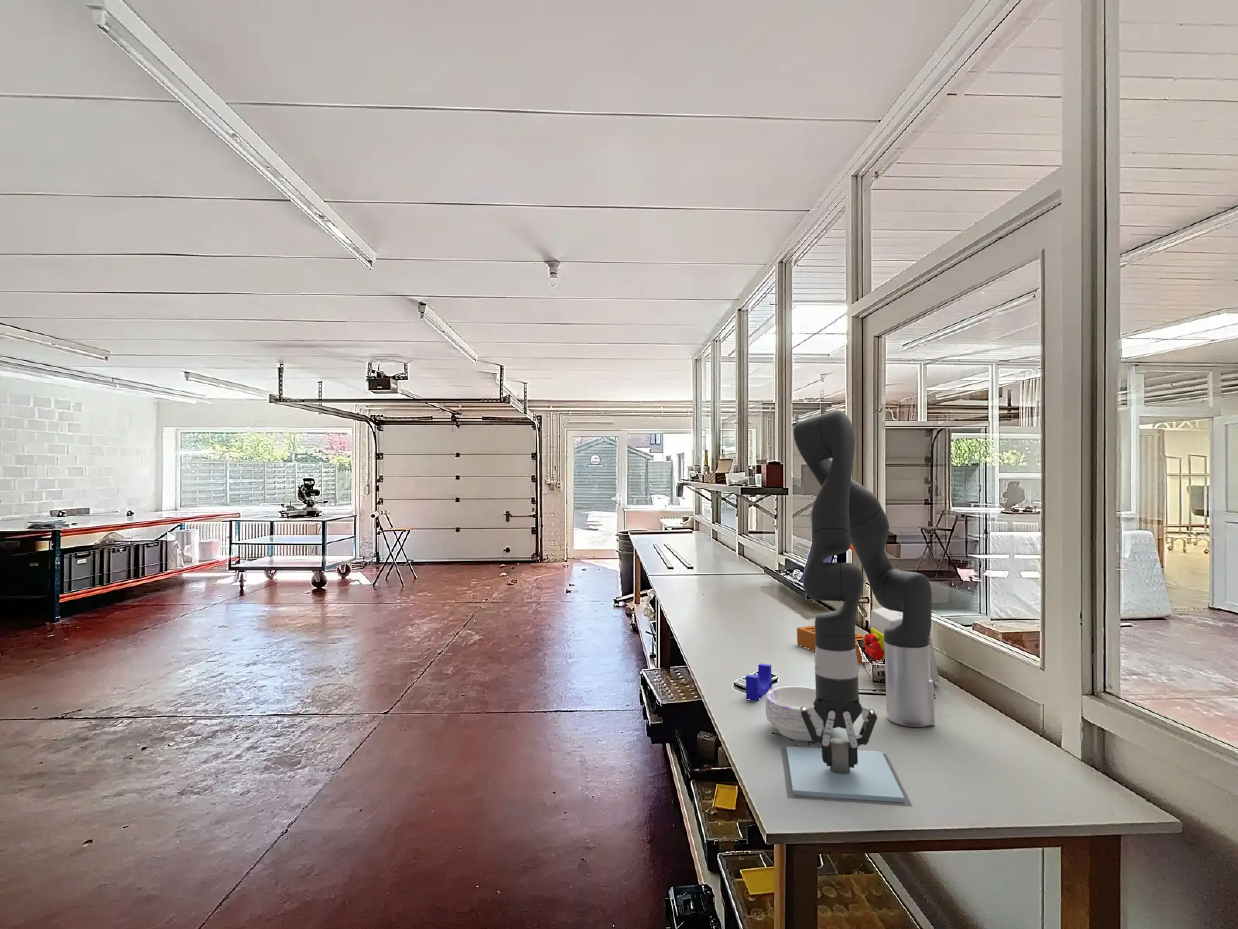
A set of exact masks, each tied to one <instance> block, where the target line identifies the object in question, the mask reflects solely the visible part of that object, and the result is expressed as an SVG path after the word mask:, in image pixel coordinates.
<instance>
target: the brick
mask: <svg viewBox="0 0 1238 929" xmlns="http://www.w3.org/2000/svg"><path fill="white" fill-rule="evenodd" d="M864 638H865V635H863V634H861V633H857V632H855V644H856V647H855V648H856V654H857V661H858V663H861V664H863V663H862V656H861V653H860V650H859V646H858V643H857V640H864ZM796 639H797V641H796V642H797V644H799V645H801V646H803V647H806V648H809V649H810V650H809V649H808V650H809V651H811V650H814V651H815V650H816V642H815V624H814V625H809V626H808V625H807V626H806V625H805V626H799V627H796ZM797 644H796V645H797ZM799 645H798V646H799ZM801 646H800V647H801ZM803 647H802V648H803ZM806 648H805V649H806ZM814 651H813V652H814Z"/></svg>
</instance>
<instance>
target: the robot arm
mask: <svg viewBox="0 0 1238 929" xmlns="http://www.w3.org/2000/svg"><path fill="white" fill-rule="evenodd" d="M855 438H856V437H855V431H854V427H853V424H852V422H851V419H850V418H849V416H848V415H847V414H846V413H845V412H843V411H842V410H838V409H837V410H832V411H828V412H825V413H822V414H819V415H816V416H812V417H810V418H806V419H804V420H801V421H799V422H797V423H795V425H794V428H793V439H794V442H795V446H796V447H797V450H798V452H799V454H800V455H801V457H802V459H803V461H804V462H805V463H806V465H807V467H808V468H809V470H810V471H811V473H812V474H813V476H814V478H815V479H816V481H817V482H818V484H819V485H820V487H821V488H820V489H819V491H818V494H817V495H816V497H815V500H814V502H813V505H812V510H811V547H810V553H809V556H808V561H807V564H806V568H805V571H804V575H803V577H802V578H803V579H802V586H803V591H804V592H805V594H806V596H808V597H809V598H810V600H812V601H821V602H823V601H824V602H825V601H827V602H843V604H842V605H841V607H840V608H839V609H836V610H832V611H827V612H822V613H820V614H818V615H816V617H815V621H814V625H815V642H816V650H815V652H814V678H815V680H814V681H815V689H816V699H815V701H814V704H813V705H812V706H809V707H804V706H803V707H801V708H800V711H801V715H802V718H803V720H804V722H805V725H806V727H807V729H808V732H809V734H810V736H811V739H812V741H811V742H813V743H818V744H820V748H822V759H823V762H824V763H826V765H827V766H830V767H831V752H830V745H829V741H830V739H831V735H832V732H833V730H832V728H835V729H837V728H840V729H844V730H845V731H846V735H847V738H848V742H849V756H850V768H854V765H857V763H858V753H857V750H858V747H859V746H862V745H863V746H866V745H868V743H869V741H870V738H871V736H872V732H873V730H874V728H875V725H876V723H877V720H878V715H877V714H876V711H875V710H874V709H867V708H865V707H863V706H862V704H861V703H860V695H859V693H860V690H859V689H860V688H859V671H860V670H859V666H858V665H859V664H858V661H857V654H856V648H855V647H856V644H855V633H856V619H857V618H856V617H857V612H858V607H859V603H860V600H861V596H862V593H863V588H864V585H865V584H864V582H865V579H864V574H865V576H866V578H867V582H868V583H869V586H870V588H871V591H872V592H871V593H872V594H873V596H874V597H875V599H876V600H875V601H877V603H878V604H879V606H881V608H886V609H889V610H893V611H898V612H903V618H902V623H901V624H900V625H895V626H890V627H887V628H886V629H885V630H884V647H885V672H884V674H885V696H886V697H885V699H886V701H885V702H886V717H887V719H888V720H889V721H890V722H892V723H894V724H896V725H899V726H903V727H909V728H910V727H911V728H924V727H928V726H936V716H935V715H936V714H935V713H936V712H935V710H936V709H935V691H934V689H935V687H934V682H933V681H932V680H931V679H930V657H929V636H930V634H931V631H932V601H933V594H932V588H931V584H930V581H929V579H928V577H927V576H926V575H924V574H923V573H920V572H914V571H908V570H898V569H895V568H894V567H893V565H892V564H891V562H890V560H889V558H888V555H887V553H886V545H887V542H888V539H889V532H890V523H889V519H888V517H887V514H886V513H885V511H884V509H883V507H882V505H881V503H880V501H879V498H877V496H876V495H875V494H874V493H873V492H872V491H870V489H868V488H866V487H865V486H863V485H862V484H860V483H858V481H856V480H854V479H852V476H853V466H854V455H855V445H856V444H855V443H856V442H855V440H856V439H855ZM851 545H852V547H853V549H854V551H855V554H856V555H857V557H858V559H859V562H860V564H861V565H862V568H863V571H864V573H863V572H862V570H861V568H860V567H859V566H858V565H857V564H855V563H853V562H824V561H825V560H826V559H827V558H829V557H834V556H837V555H841V554H844V553H846V552H848V551H849V550H850V548H851ZM814 712H816V713H817V714H818V715H819V716H820V718H821V719H822V720H823V724H822V732H821V734H819V733H817V732H816V730H815V727H814V725H813V723H812V719H813V718H814ZM860 715H862V716H861V718H862V720H863V722H862V726H861V729H859V730H860V731H859V733H858V734H857V735H856V732H855V729H854V724H855V722H856V721H857V719H858V718H859V717H860Z"/></svg>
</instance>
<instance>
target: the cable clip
mask: <svg viewBox="0 0 1238 929" xmlns="http://www.w3.org/2000/svg"><path fill="white" fill-rule="evenodd" d="M757 667H758V668H757V670H758V671H757V674H756V673H754V674H746V675H745V693H746V694H745V697H746V699H750V700H749V701H751V700H756V701H755V702H757V701H758V702H759V701H760V700H759V698H761V699H762V698H763V697H764V696H766V694H767V693H766V692H767V691H768V690H769V689H770V688H771V687H772V688H773V679H772V677H773V676H772V664H767V663H758V665H757ZM772 688H771V689H772ZM771 689H770V690H771ZM770 690H769V691H770ZM763 695H764V696H763ZM762 696H763V697H762Z"/></svg>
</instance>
